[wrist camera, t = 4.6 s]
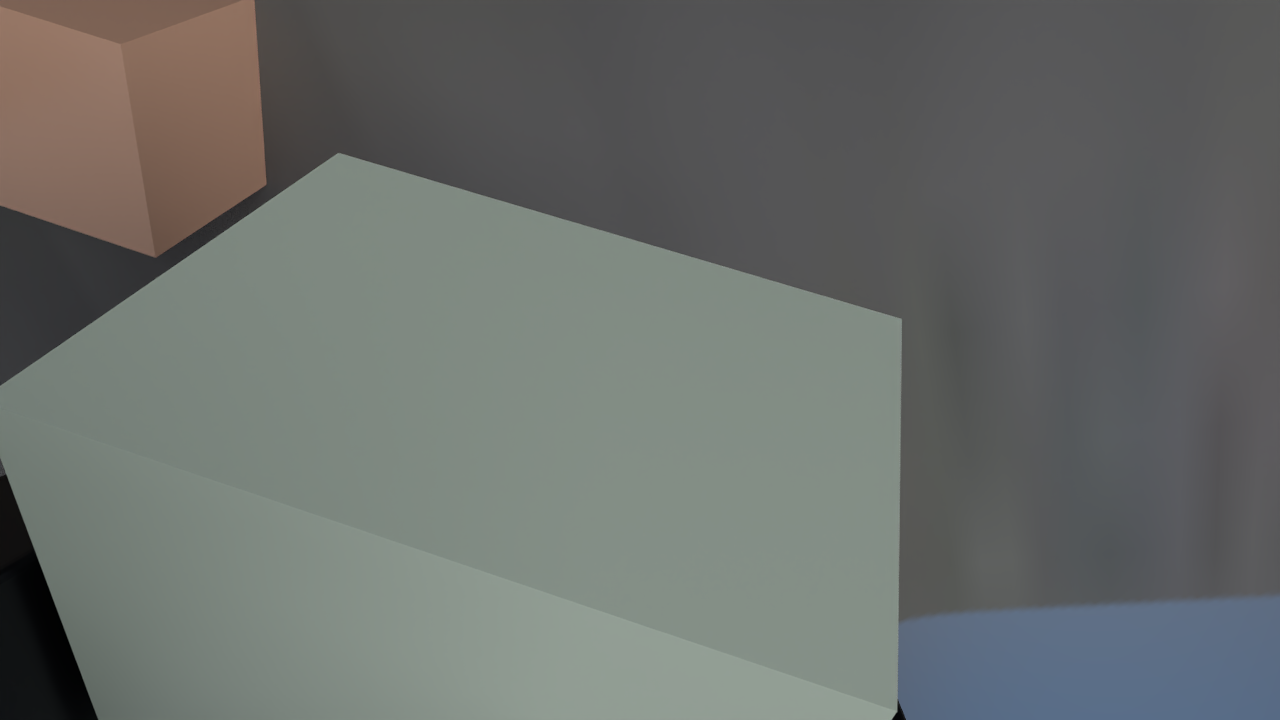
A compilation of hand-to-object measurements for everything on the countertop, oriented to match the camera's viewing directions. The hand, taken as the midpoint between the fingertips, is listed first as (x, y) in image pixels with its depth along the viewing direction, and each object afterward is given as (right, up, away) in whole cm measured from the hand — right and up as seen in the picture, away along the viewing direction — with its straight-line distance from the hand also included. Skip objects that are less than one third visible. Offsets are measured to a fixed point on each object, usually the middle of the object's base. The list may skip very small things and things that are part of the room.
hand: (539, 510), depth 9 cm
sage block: (0, +1, +1) cm, 1 cm away
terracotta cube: (-10, +8, +11) cm, 17 cm away
